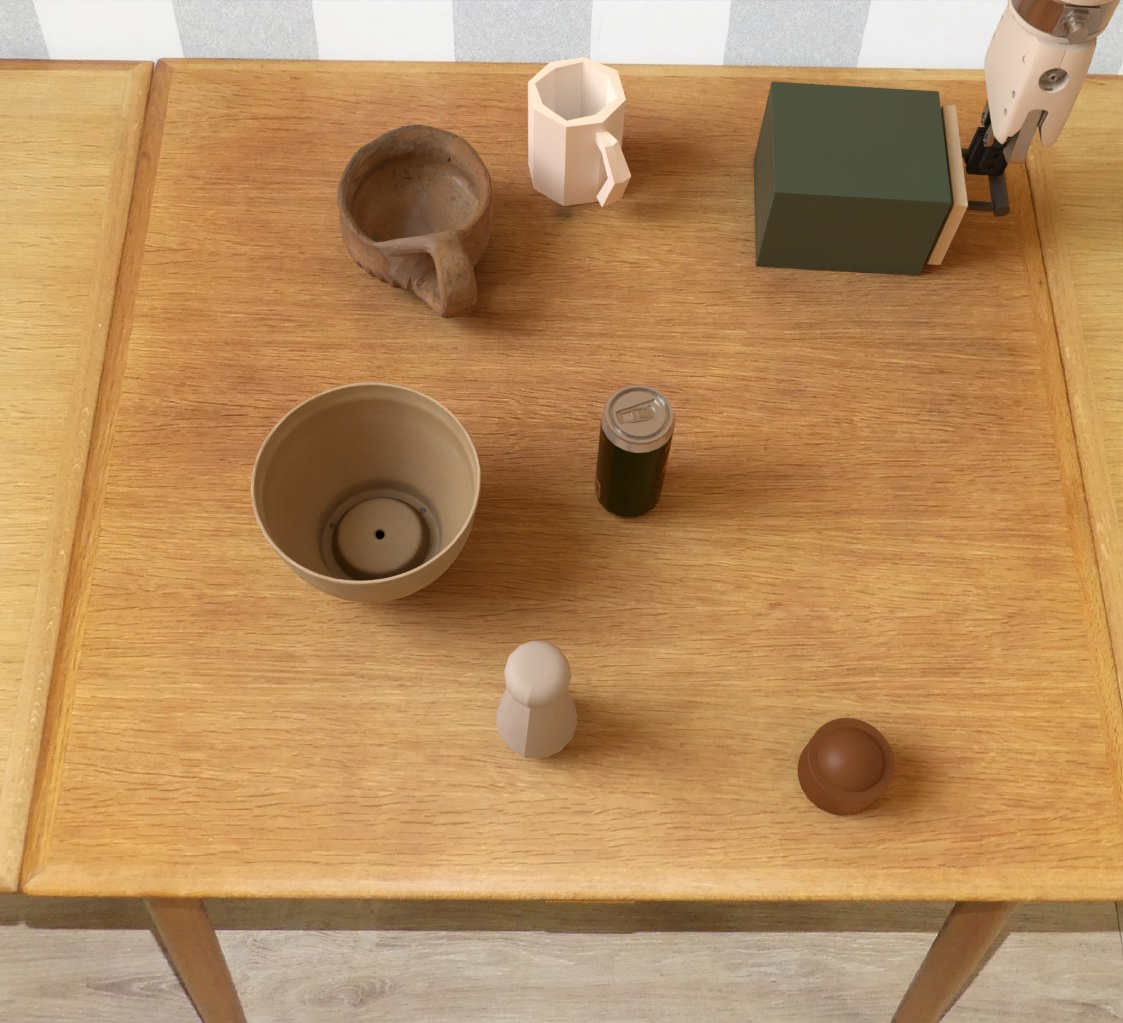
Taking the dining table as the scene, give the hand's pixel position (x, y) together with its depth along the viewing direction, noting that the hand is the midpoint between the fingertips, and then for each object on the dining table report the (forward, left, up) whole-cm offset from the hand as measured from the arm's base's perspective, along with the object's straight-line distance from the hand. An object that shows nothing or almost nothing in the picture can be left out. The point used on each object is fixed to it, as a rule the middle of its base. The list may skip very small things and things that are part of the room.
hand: (982, 168), depth 106 cm
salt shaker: (+35, +50, -7) cm, 62 cm away
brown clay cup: (+47, +8, -7) cm, 49 cm away
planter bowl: (+48, +36, -7) cm, 61 cm away
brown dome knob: (+13, +52, -7) cm, 54 cm away
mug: (+34, -2, -7) cm, 35 cm away
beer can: (+29, +30, -7) cm, 43 cm away
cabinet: (+11, 0, -7) cm, 13 cm away
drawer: (+7, 0, -6) cm, 9 cm away
